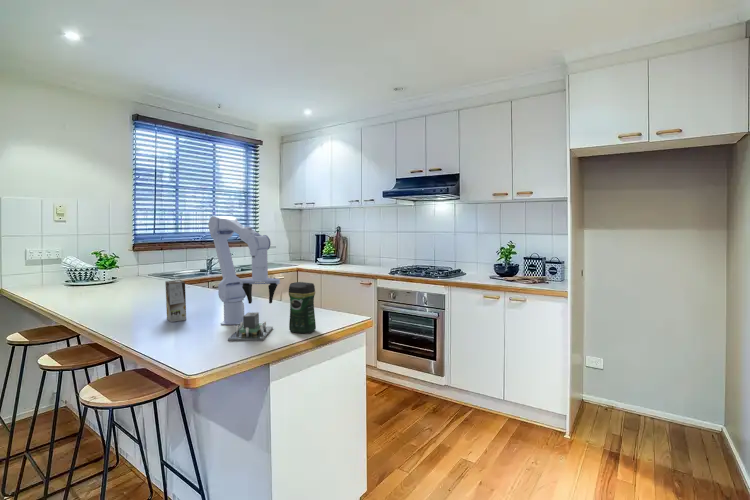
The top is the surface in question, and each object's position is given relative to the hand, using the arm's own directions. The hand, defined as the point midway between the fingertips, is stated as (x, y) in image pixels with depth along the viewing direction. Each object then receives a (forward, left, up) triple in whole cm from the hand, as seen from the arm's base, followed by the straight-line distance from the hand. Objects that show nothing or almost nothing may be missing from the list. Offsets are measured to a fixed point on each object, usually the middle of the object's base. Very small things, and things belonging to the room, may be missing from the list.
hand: (260, 303), depth 153 cm
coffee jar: (+2, +16, -11) cm, 19 cm away
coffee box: (-19, -40, -11) cm, 46 cm away
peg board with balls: (+6, -2, -10) cm, 12 cm away
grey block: (+6, -2, -8) cm, 11 cm away
